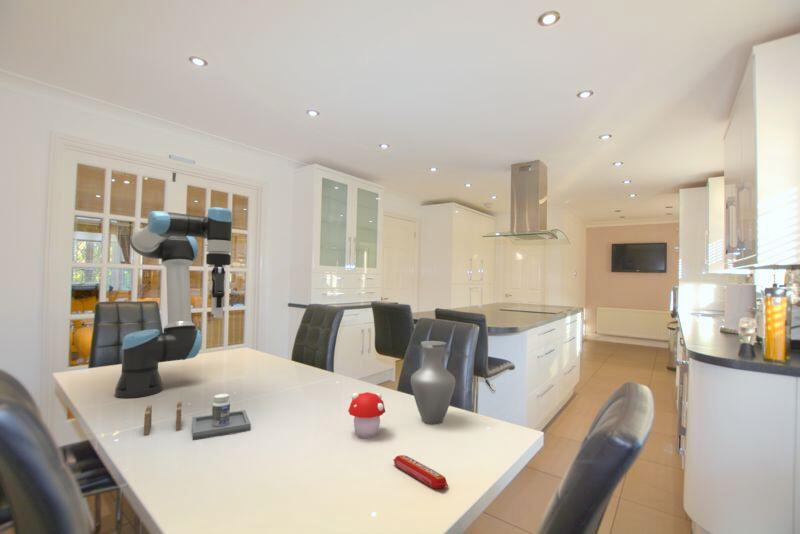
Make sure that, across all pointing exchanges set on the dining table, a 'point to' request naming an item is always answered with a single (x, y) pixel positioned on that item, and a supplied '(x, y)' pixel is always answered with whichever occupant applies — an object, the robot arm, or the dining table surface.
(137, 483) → the dining table surface
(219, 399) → the pill bottle
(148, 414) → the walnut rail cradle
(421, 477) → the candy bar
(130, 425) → the dining table surface
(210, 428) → the slate tray
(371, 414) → the mushroom
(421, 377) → the vase
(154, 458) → the dining table surface
